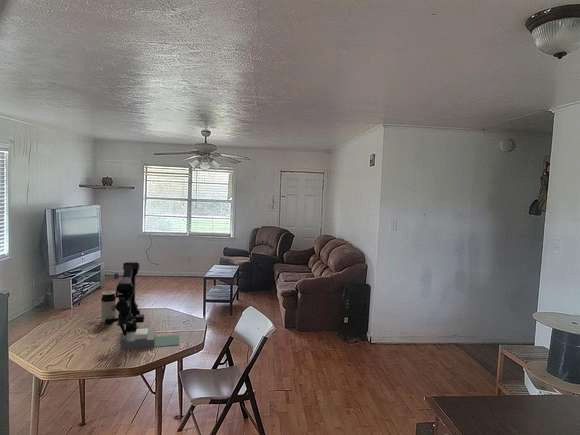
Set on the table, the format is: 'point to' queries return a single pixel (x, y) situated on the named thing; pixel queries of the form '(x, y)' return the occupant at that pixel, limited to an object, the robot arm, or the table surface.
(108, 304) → the travel mug
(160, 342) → the mat
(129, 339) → the grey flat box
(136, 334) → the block
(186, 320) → the table surface
